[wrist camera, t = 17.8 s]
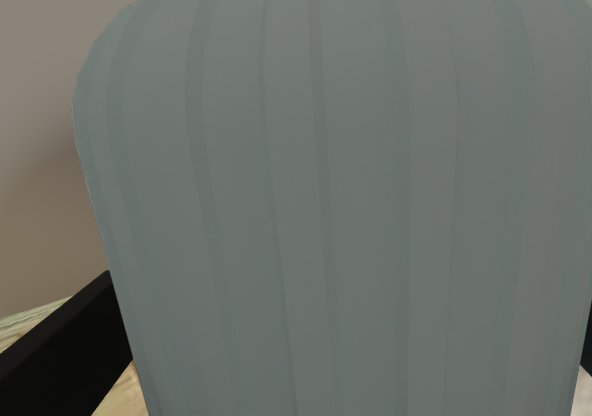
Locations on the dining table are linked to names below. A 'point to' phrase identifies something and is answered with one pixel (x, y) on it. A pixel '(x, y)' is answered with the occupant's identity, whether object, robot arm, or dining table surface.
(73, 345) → the robot arm
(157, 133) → the vase
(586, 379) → the dining table surface
